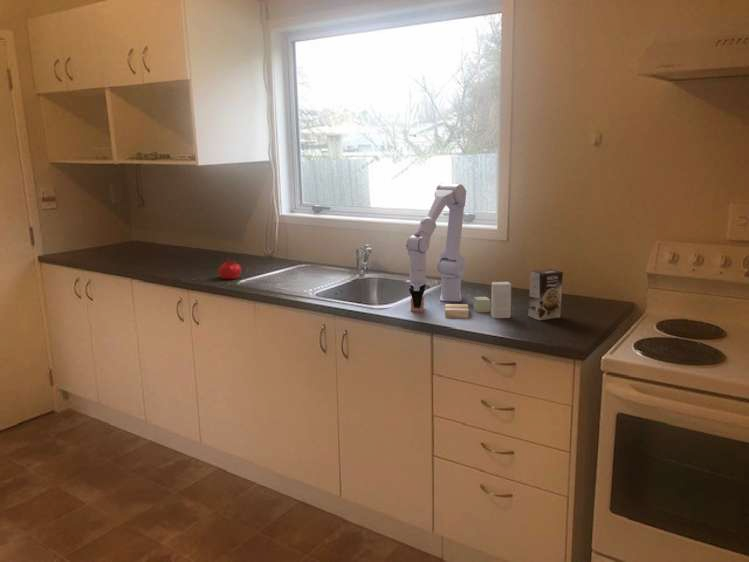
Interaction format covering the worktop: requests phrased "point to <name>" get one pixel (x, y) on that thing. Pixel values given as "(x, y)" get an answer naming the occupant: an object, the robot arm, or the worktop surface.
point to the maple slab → (456, 310)
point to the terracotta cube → (420, 306)
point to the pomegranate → (230, 270)
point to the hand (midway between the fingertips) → (417, 305)
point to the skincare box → (500, 299)
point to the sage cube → (481, 304)
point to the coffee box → (545, 294)
